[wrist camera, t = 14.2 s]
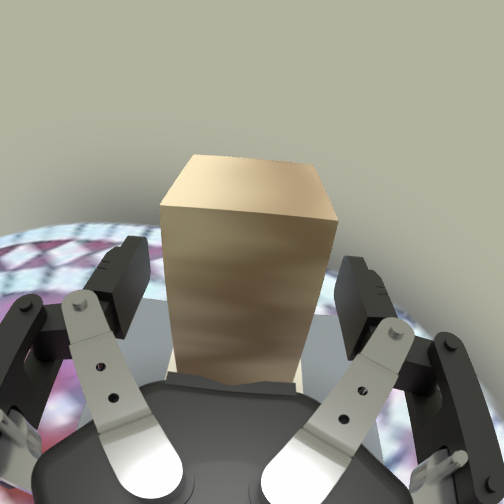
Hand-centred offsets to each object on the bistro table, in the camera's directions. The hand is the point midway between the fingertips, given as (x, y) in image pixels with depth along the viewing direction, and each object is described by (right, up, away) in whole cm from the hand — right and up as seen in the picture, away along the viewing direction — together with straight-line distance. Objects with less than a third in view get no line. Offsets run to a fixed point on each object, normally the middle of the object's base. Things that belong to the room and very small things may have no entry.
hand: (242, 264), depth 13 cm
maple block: (-1, -7, +3) cm, 8 cm away
